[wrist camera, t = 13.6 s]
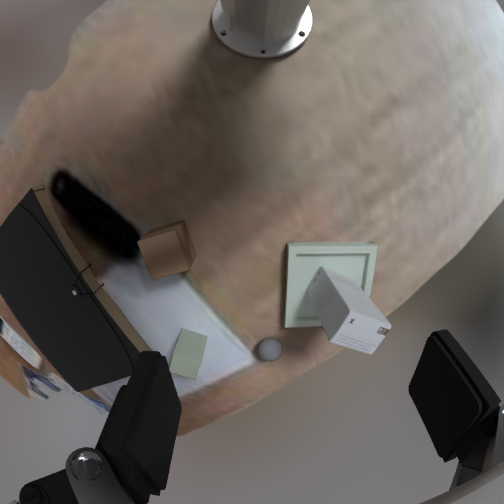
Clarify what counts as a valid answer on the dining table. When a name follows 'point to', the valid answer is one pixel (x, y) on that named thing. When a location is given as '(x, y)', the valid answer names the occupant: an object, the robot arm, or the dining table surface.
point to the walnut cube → (167, 250)
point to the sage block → (188, 354)
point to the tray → (307, 265)
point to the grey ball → (270, 349)
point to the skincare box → (347, 312)
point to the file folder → (63, 299)
